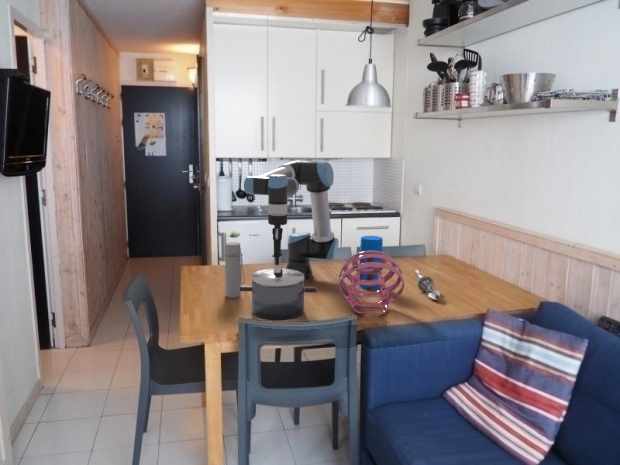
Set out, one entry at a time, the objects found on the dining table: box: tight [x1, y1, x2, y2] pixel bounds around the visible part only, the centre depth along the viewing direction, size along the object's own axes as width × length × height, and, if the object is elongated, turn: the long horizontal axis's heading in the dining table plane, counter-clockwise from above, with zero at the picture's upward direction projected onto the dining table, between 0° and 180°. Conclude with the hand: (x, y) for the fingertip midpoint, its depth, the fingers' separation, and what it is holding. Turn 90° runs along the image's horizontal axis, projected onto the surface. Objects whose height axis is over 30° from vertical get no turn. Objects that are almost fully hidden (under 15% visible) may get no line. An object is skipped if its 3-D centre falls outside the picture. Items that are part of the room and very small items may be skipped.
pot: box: [240, 281, 317, 322], centre depth 219 cm, size 22×32×14 cm
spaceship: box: [414, 269, 441, 301], centre depth 252 cm, size 8×35×8 cm
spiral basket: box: [337, 250, 405, 316], centre depth 220 cm, size 28×28×27 cm
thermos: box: [358, 235, 383, 291], centre depth 256 cm, size 11×11×25 cm
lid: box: [251, 268, 305, 288], centre depth 217 cm, size 22×22×4 cm
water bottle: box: [224, 241, 246, 299], centre depth 237 cm, size 9×8×25 cm
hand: (277, 272), depth 207 cm, fingers closed
